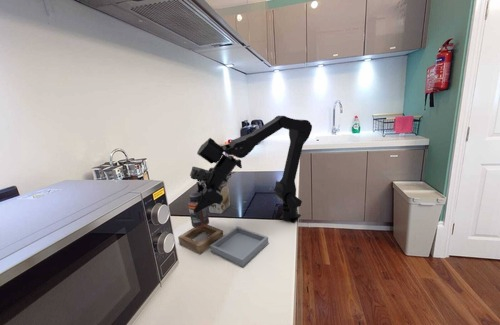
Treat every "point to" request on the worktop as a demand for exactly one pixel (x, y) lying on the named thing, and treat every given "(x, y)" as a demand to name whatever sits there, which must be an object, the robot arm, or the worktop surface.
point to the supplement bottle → (200, 217)
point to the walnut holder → (203, 245)
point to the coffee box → (225, 203)
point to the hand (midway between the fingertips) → (193, 208)
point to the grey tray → (239, 246)
